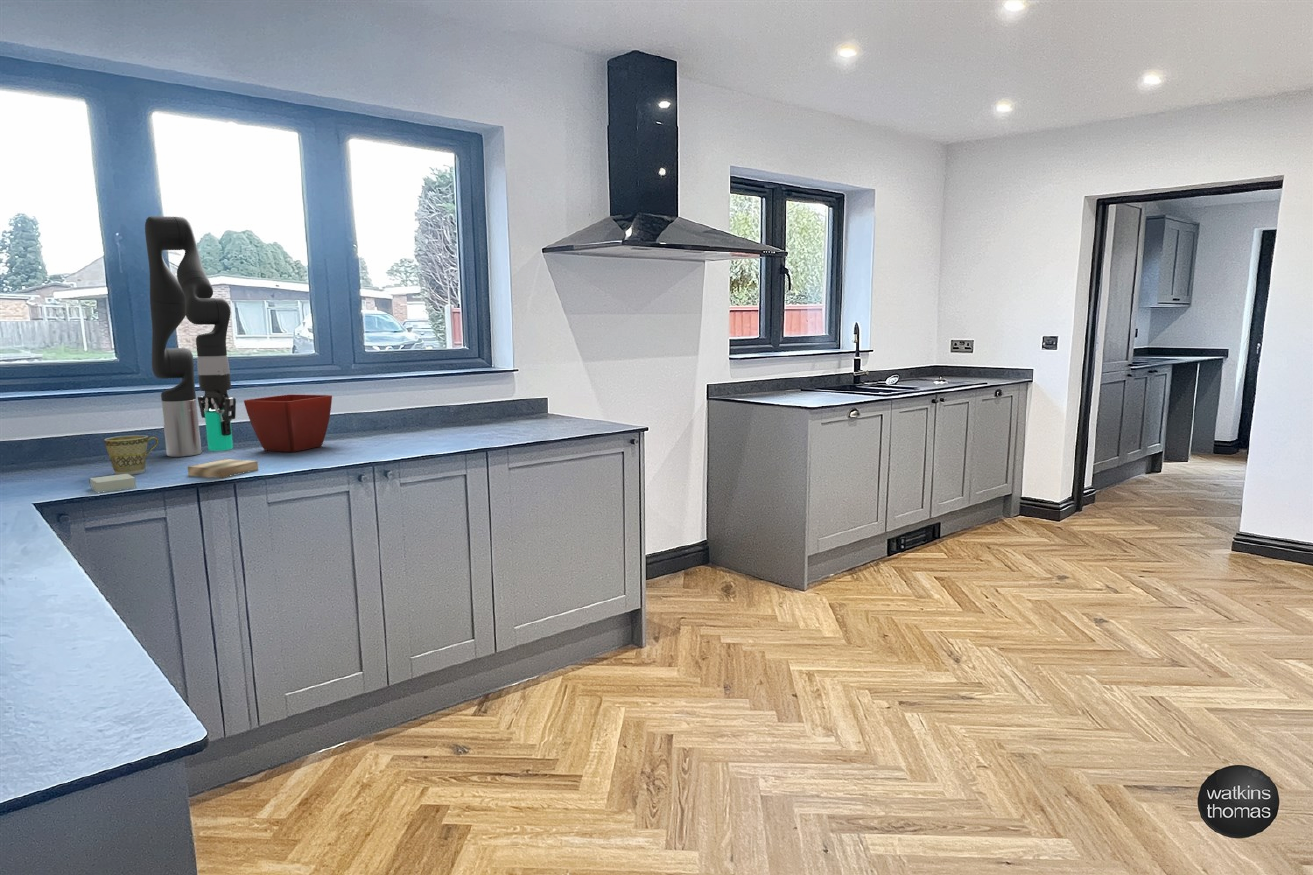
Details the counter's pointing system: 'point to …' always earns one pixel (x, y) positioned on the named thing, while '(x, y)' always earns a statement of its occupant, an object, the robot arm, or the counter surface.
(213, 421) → the candle
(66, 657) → the counter surface
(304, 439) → the plant pot
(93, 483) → the sage block
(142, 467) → the ceramic cup
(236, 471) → the oak block
